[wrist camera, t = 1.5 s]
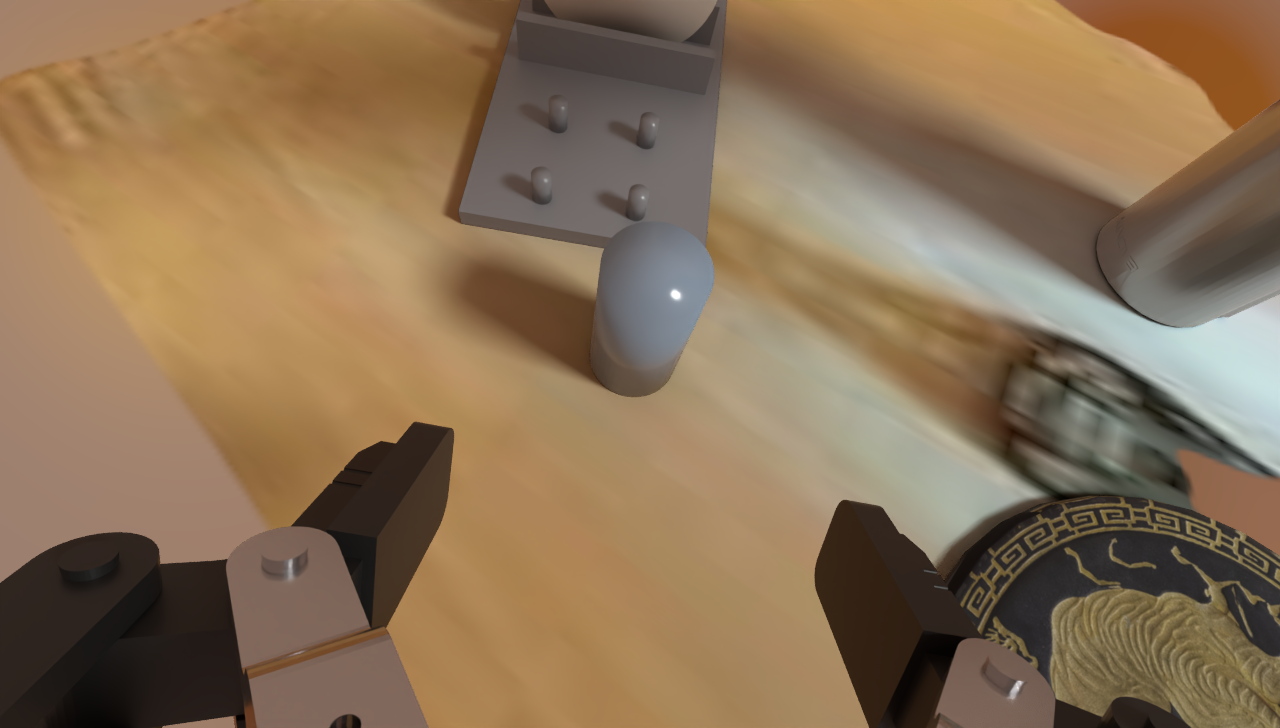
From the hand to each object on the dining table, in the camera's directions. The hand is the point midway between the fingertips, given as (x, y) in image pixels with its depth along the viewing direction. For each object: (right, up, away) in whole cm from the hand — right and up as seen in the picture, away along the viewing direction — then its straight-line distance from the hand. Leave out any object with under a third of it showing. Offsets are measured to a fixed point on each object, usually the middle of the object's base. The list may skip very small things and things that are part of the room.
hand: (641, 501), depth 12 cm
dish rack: (-2, +21, +30) cm, 37 cm away
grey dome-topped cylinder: (0, +3, +22) cm, 23 cm away
